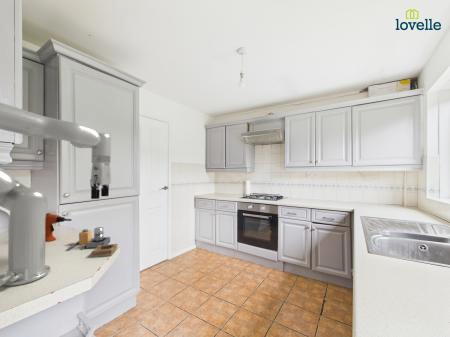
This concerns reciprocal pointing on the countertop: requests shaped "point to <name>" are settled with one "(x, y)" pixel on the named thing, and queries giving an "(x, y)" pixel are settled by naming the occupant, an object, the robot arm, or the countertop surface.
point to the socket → (97, 243)
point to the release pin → (84, 237)
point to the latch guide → (76, 245)
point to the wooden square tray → (104, 250)
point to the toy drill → (49, 228)
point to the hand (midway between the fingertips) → (100, 197)
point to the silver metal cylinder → (98, 234)
